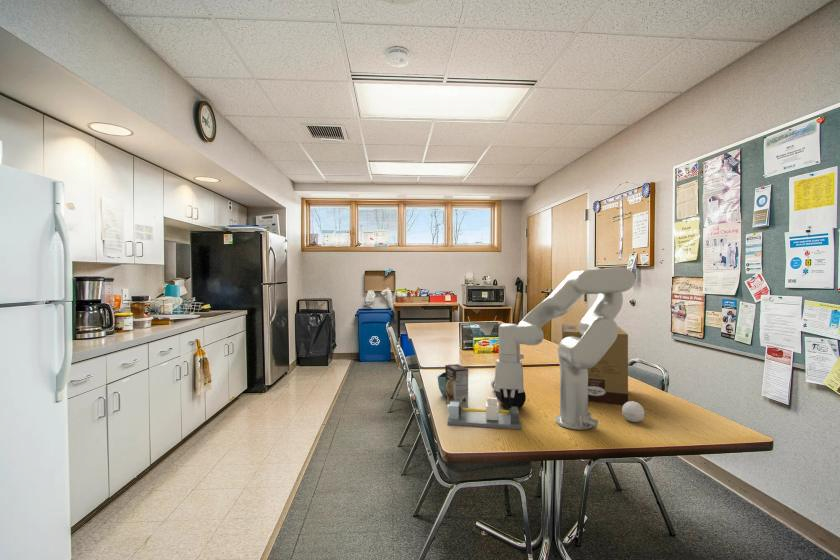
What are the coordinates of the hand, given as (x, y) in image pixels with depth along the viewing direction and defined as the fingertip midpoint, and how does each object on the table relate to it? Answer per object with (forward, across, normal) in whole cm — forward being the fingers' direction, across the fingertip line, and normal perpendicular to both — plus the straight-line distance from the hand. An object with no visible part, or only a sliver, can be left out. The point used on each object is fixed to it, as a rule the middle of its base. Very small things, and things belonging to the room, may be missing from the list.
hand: (508, 407), depth 135 cm
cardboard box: (+6, -40, -41) cm, 57 cm away
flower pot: (+6, +25, -29) cm, 39 cm away
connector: (+5, +20, 0) cm, 21 cm away
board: (+6, +9, 0) cm, 11 cm away
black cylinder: (+6, 0, -28) cm, 29 cm away
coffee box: (+6, +20, -16) cm, 27 cm away
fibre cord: (+2, +8, 0) cm, 8 cm away
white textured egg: (+6, -46, -8) cm, 47 cm away
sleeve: (+4, +6, 0) cm, 7 cm away
